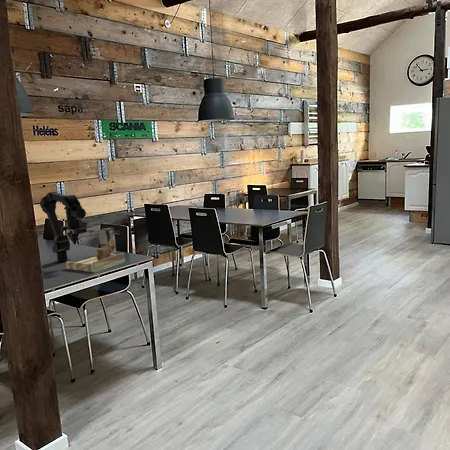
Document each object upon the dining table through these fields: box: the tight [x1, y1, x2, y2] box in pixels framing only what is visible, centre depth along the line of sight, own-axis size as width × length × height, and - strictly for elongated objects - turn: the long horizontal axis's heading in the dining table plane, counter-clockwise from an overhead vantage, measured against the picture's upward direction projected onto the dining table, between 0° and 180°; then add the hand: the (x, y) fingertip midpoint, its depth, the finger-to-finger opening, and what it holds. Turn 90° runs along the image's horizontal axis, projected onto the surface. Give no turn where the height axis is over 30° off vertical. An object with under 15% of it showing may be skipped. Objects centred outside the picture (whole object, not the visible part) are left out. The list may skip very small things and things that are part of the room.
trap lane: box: [65, 251, 126, 273], centre depth 257 cm, size 22×23×6 cm
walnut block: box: [96, 247, 110, 260], centre depth 253 cm, size 5×5×8 cm
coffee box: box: [98, 227, 117, 254], centre depth 283 cm, size 9×6×16 cm
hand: (74, 244), depth 259 cm, fingers closed
